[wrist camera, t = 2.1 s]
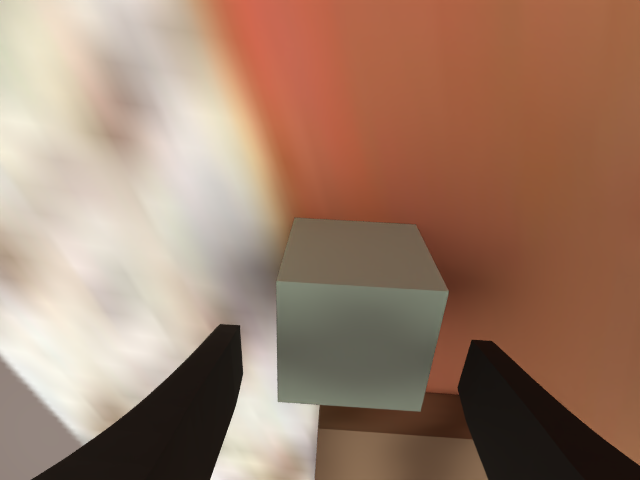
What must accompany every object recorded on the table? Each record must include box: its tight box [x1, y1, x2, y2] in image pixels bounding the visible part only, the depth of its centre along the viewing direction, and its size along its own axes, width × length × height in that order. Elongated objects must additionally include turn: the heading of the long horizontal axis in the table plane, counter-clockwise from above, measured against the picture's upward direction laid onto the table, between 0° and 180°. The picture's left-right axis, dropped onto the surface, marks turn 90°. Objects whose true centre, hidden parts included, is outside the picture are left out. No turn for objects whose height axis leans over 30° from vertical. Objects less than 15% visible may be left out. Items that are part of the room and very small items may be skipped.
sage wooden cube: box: [276, 218, 449, 412], centre depth 14 cm, size 5×5×5 cm
